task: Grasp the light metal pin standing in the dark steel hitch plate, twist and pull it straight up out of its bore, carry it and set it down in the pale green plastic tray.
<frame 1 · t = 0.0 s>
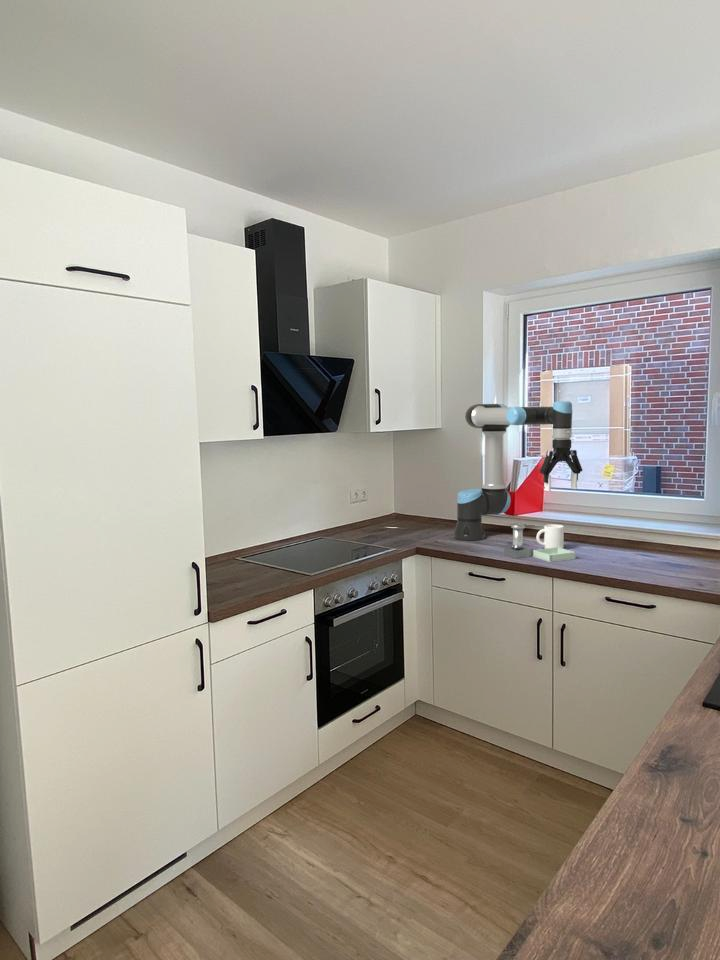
hand: (560, 489, 258), 28 cm above the worktop, fingers open, 13 cm apart
hitch plate: (517, 555, 262), on the worktop
pin: (517, 540, 262), in the hitch plate
tray: (554, 557, 257), on the worktop
mug: (549, 549, 274), on the worktop
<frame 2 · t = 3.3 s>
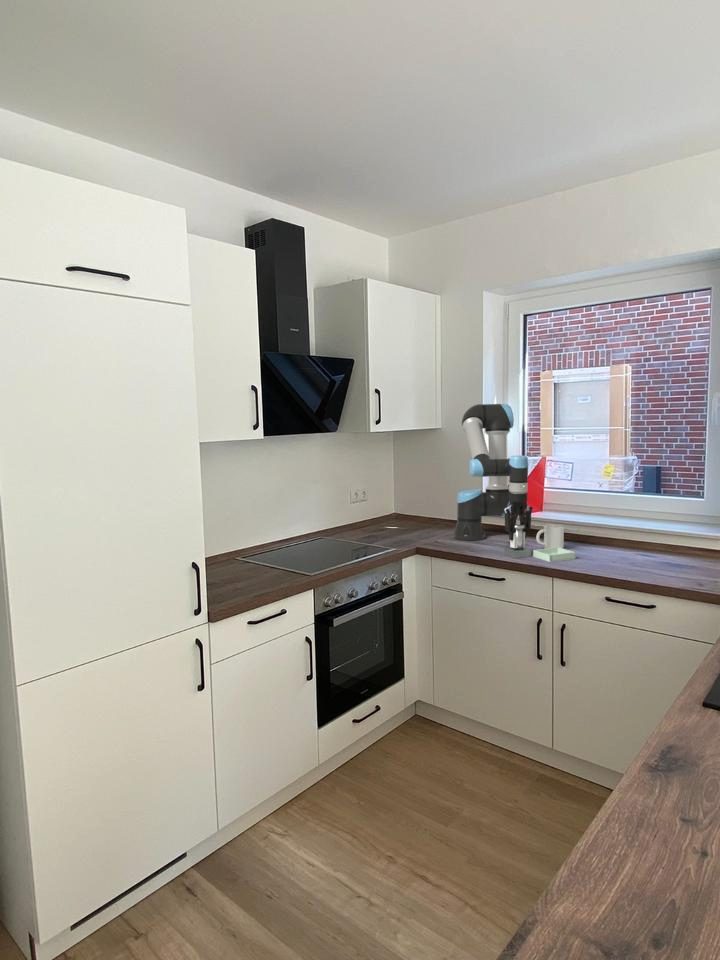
hand: (517, 547, 262), 4 cm above the worktop, fingers closed on pin, 4 cm apart
pin: (517, 540, 262), in the hitch plate, touching gripper
everything else where it was.
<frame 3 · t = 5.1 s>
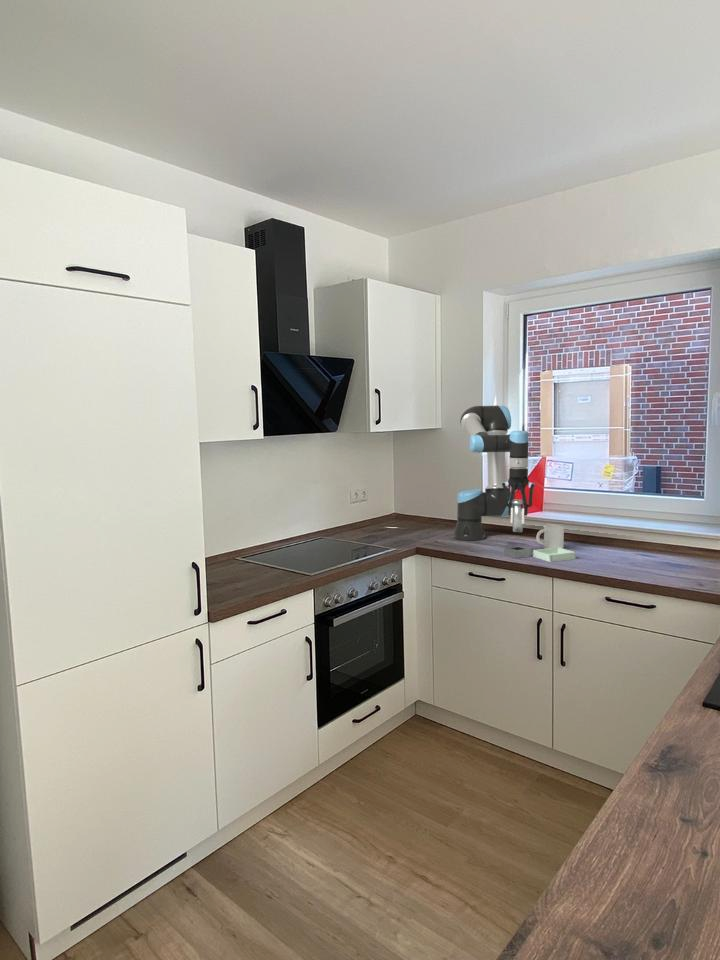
hand: (517, 522, 261), 14 cm above the worktop, fingers closed on pin, 4 cm apart
pin: (517, 515, 261), point 17 cm above the worktop, touching gripper
everything else where it was.
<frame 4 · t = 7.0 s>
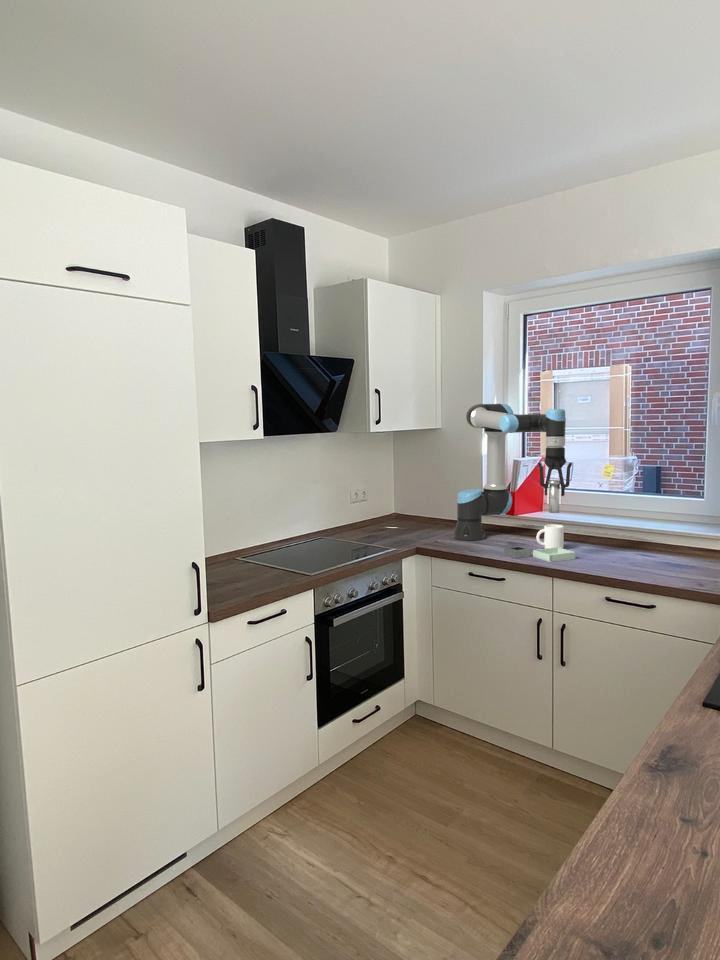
hand: (554, 503, 255), 23 cm above the worktop, fingers closed on pin, 4 cm apart
pin: (554, 496, 255), point 26 cm above the worktop, touching gripper
everything else where it was.
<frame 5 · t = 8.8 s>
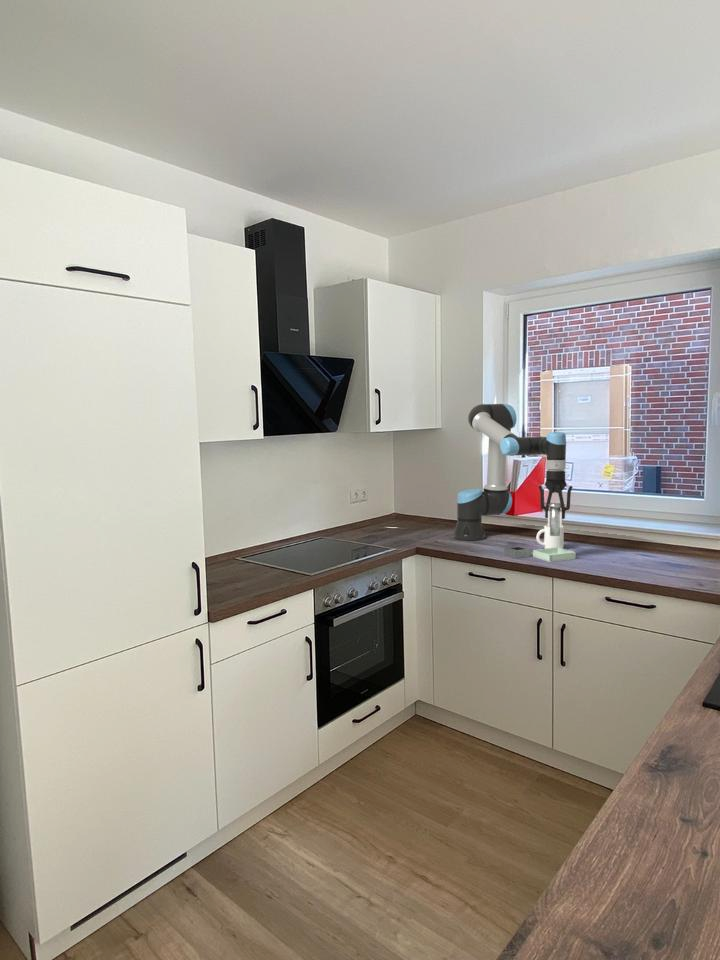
hand: (554, 526, 256), 13 cm above the worktop, fingers closed on pin, 4 cm apart
pin: (555, 519, 256), point 16 cm above the worktop, touching gripper
everything else where it was.
when the fingers open (5 cm above the worktop, at t = 10.5 s): pin stays where it is, resting on tray.
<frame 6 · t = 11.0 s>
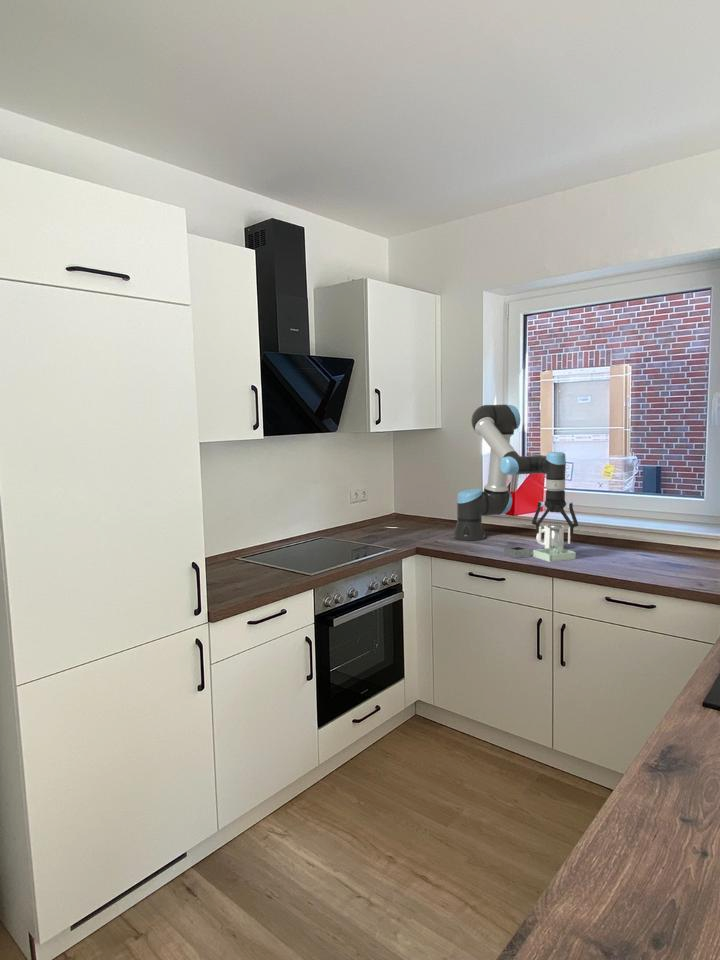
hand: (554, 542, 257), 7 cm above the worktop, fingers open, 11 cm apart
pin: (554, 540, 257), in the tray, point 7 cm above the worktop
everything else where it was.
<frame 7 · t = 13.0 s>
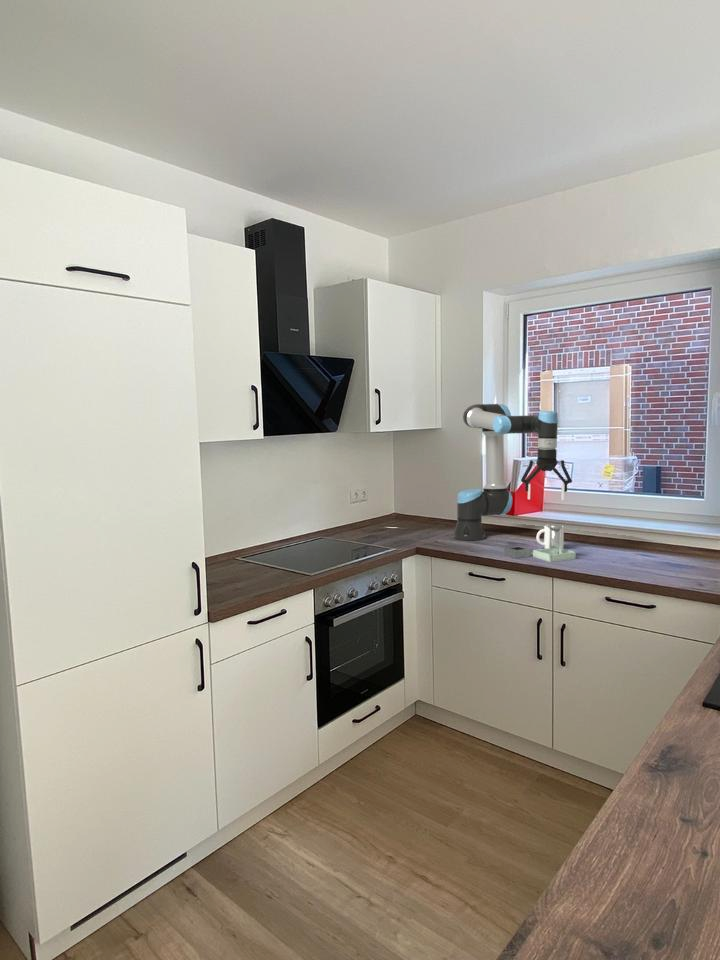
hand: (545, 499, 258), 24 cm above the worktop, fingers open, 13 cm apart
nothing on the worktop moved.
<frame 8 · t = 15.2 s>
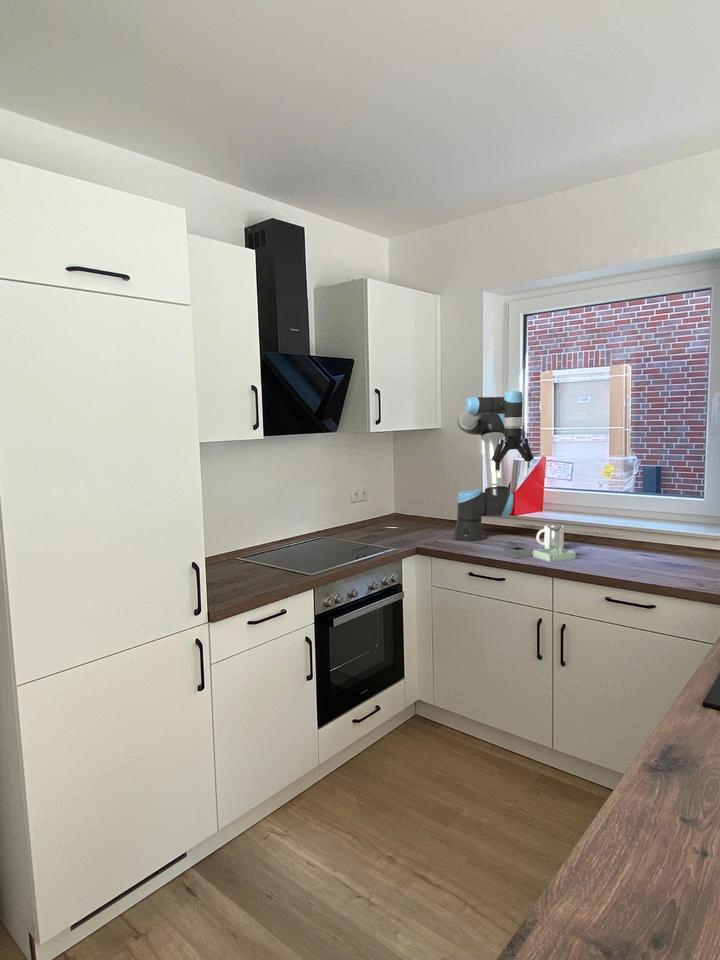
hand: (512, 477, 267), 33 cm above the worktop, fingers open, 13 cm apart
nothing on the worktop moved.
at the end: pin inside the target area on the tray (0.0 cm from its centre), point 7.2 cm above the tray's base; the gripper is holding nothing; pin touching tray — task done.
